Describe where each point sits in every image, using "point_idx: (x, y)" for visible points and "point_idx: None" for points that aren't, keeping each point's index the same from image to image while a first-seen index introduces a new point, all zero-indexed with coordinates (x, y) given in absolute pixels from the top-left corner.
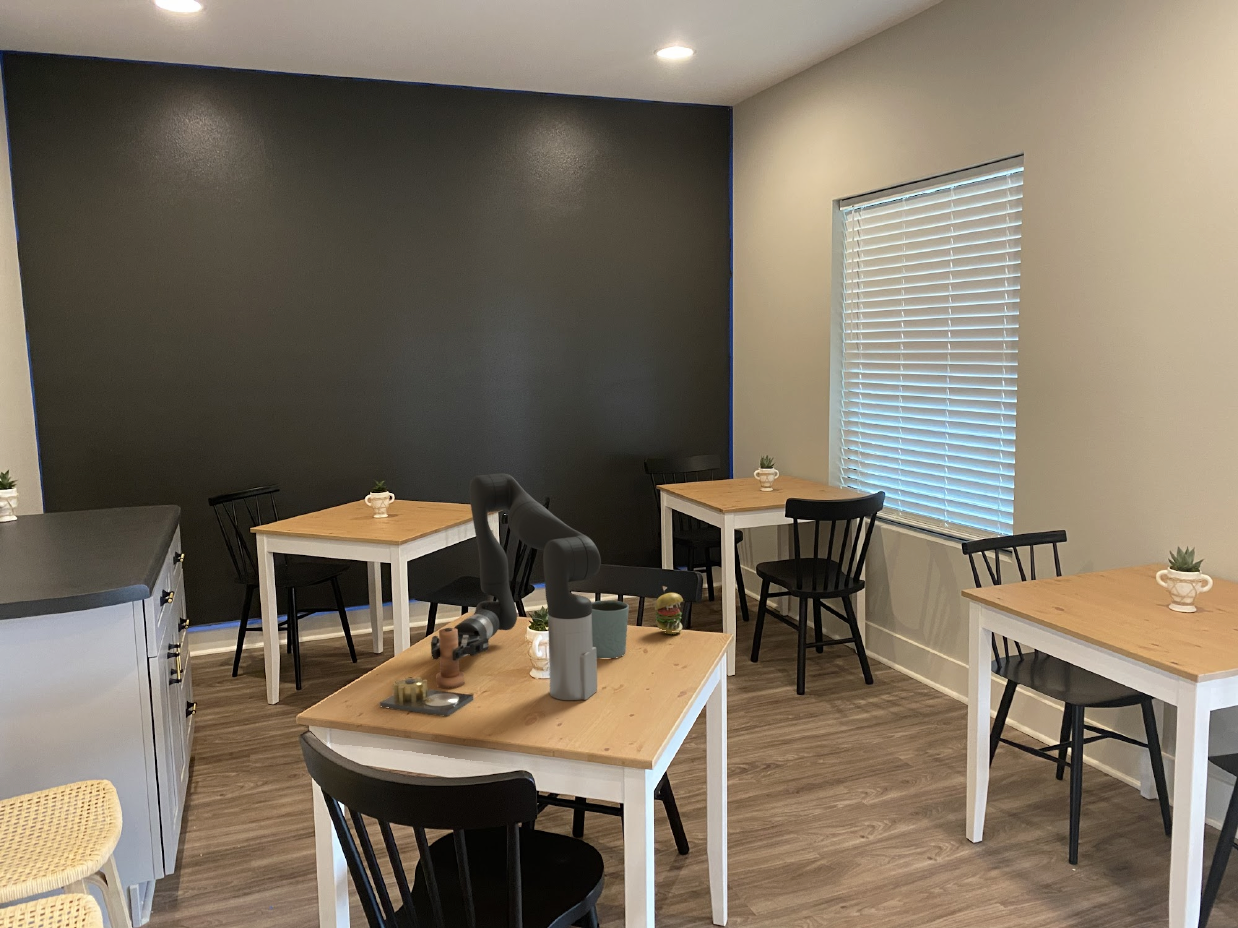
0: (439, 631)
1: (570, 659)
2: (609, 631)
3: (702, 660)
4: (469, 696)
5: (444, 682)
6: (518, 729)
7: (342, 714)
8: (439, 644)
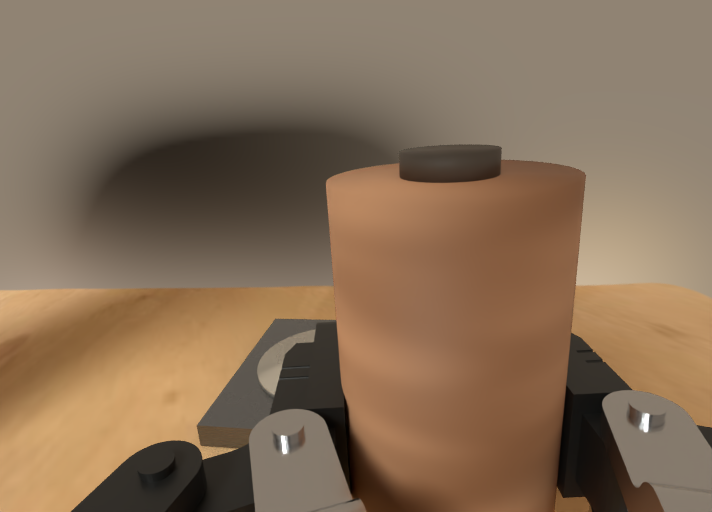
0: (527, 162)
1: None
2: None
3: None
4: (214, 410)
5: None
6: (59, 319)
7: (607, 300)
8: (629, 400)
